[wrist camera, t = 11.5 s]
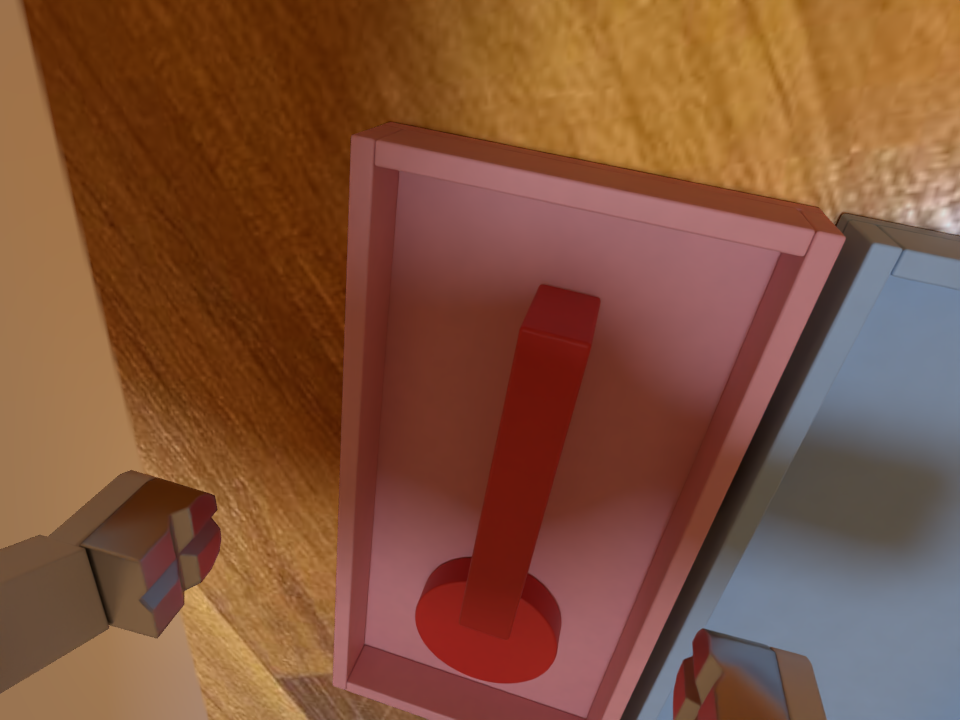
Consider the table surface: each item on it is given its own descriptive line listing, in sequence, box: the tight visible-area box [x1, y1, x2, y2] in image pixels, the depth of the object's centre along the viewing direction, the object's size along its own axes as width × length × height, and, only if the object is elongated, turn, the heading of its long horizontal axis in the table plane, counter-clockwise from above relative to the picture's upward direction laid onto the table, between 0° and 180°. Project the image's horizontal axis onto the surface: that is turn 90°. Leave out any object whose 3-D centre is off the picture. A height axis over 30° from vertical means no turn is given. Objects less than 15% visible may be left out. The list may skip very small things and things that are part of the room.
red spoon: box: [415, 284, 601, 684], centre depth 16 cm, size 13×4×2 cm, turn 171°
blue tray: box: [620, 214, 960, 720], centre depth 15 cm, size 9×18×2 cm, turn 172°
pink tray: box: [333, 122, 846, 720], centre depth 16 cm, size 9×18×2 cm, turn 172°
